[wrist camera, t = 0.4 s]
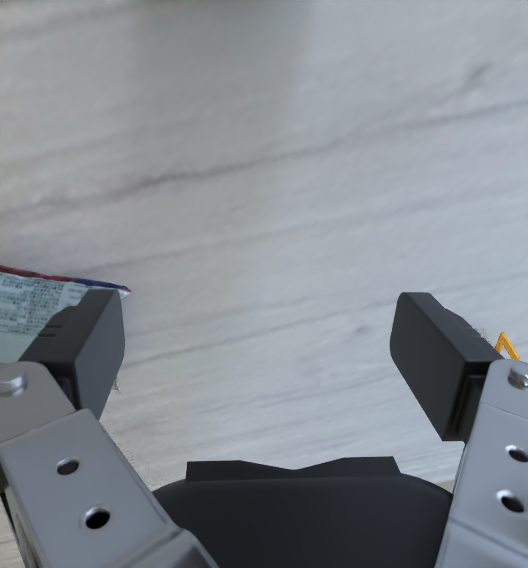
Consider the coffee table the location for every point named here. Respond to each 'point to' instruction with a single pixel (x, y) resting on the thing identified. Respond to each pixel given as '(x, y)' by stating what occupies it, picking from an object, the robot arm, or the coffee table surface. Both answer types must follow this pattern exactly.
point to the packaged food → (37, 306)
